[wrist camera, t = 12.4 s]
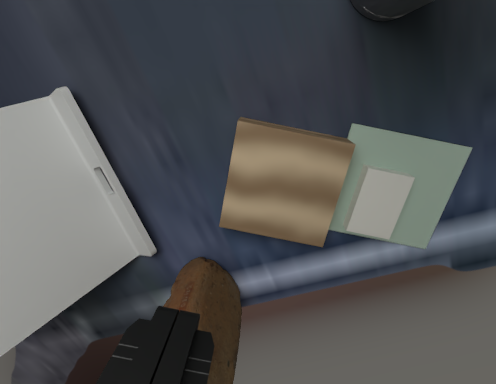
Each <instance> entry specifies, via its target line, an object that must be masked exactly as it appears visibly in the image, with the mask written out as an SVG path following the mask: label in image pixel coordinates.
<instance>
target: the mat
mask: <svg viewBox="0 0 496 384" xmlns="http://www.w3.org/2000/svg"><path fill="white" fill-rule="evenodd" d="M347 139H348V140H350V141H351V142H353V143H354V144H356V146H355V149H354V152H353V155H352V158H351V161H350V164H349V167H348V170H347V173H346V177H345V180H344V183H343V186H342V189H341V192H340V195H339V198H338V201H337V204H336V208H335V211H334V214H333V217H332V220H331V223H330V226H329V229H328V230H333V231H338V232H343V233H348V234H353V235H358V236H363V237H368V238H373V239H378V240H383V241H388V242H393V243H398V244H403V245H408V246H413V247H418V248H423V249H426V247H427V245H428V243H429V240H430V238H431V236H432V234H433V232H434V230H435V227H436V225H437V223H438V221H439V219H440V217H441V215H442V212H443V210H444V208H445V206H446V204H447V202H448V200H449V197H450V195H451V193H452V191H453V189H454V187H455V184H456V182H457V180H458V178H459V176H460V174H461V172H462V169H463V167H464V165H465V163H466V161H467V159H468V157H469V154H470V152H471V150H472V148H471V147H466V146H461V145H457V144H452V143H447V142H442V141H437V140H432V139H427V138H422V137H417V136H412V135H408V134H403V133H398V132H393V131H388V130H383V129H378V128H373V127H368V126H364V125H359V124H354V123H352V125H351V128H350V131H349V134H348V137H347ZM363 164H366V165H371V166H376V167H380V168H385V169H390V170H395V171H399V172H404V173H408V174H410V175H411V176H413V177H415V179H414V182H413V184H412V187H411V189H410V191H409V194H408V196H407V198H406V201H405V203H404V206H403V208H402V210H401V213H400V215H399V218H398V220H397V222H396V225H395V227H394V230H393V232H392V234H391V237H390V239H389V240H388V239H383V238H379V237H374V236H369V235H364V234H359V233H354V232H350V231H346V229H345V228H344V226H343V222H344V219H345V216H346V213H347V210H348V208H349V205H350V202H351V199H352V196H353V193H354V190H355V187H356V185H357V182H358V179H359V176H360V173H361V170H362V167H363Z"/></svg>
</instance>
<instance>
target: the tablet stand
mask: <svg viewBox="0 0 496 384" xmlns="http://www.w3.org/2000/svg"><path fill="white" fill-rule="evenodd" d="M100 168H101V169H102V171H103V173H104V175H105V176H106V178H107V180H108V182H109V183H110V185H111V187H112V189H113V191H114V192H113V191H112V189H111V187H110V186H109V184H108V182H107V180H106V178H105V177H104V175H103V173H102V171H101V170H100ZM156 252H157V250H156V248H155V246H154V244H153V242H152V241H151V239H150V237H149V235H148V233H147V231H146V230H145V228H144V226H143V224H142V222H141V220H140V219H139V217H138V215H137V213H136V211H135V209H134V208H133V206H132V204H131V202H130V200H129V198H128V197H127V195H126V193H125V191H124V189H123V187H122V186H121V184H120V182H119V180H118V178H117V176H116V175H115V173H114V171H113V169H112V167H111V165H110V164H109V162H108V160H107V158H106V156H105V154H104V153H103V151H102V149H101V147H100V145H99V143H98V142H97V140H96V138H95V136H94V134H93V132H92V131H91V129H90V127H89V125H88V123H87V121H86V120H85V118H84V116H83V114H82V112H81V110H80V109H79V107H78V105H77V103H76V101H75V99H74V98H73V96H72V94H71V92H70V90H69V89H68V88H67V87H60V88H57V89H56V90H55V91H54V92H53V93H52V94H51V95H50V96H48V97H44V98H40V99H36V100H31V101H27V102H23V103H19V104H15V105H11V106H7V107H3V108H0V356H2V355H3V354H4V353H6V352H7V351H9V350H10V349H11V348H12V347H14V346H15V345H17V344H18V343H20V342H21V341H22V340H24V339H25V338H26V337H28V336H29V335H30V334H32V333H33V332H35V331H36V330H37V329H39V328H40V327H41V326H43V325H44V324H45V323H47V322H48V321H50V320H51V319H52V318H54V317H55V316H56V315H58V314H59V313H61V312H62V311H63V310H65V309H66V308H67V307H69V306H70V305H71V304H73V303H74V302H76V301H77V300H78V299H80V298H81V297H82V296H84V295H85V294H86V293H88V292H89V291H91V290H92V289H93V288H95V287H96V286H97V285H99V284H100V283H101V282H103V281H104V280H106V279H107V278H108V277H110V276H111V275H112V274H114V273H115V272H117V271H118V270H119V269H121V268H122V267H123V266H125V265H126V264H127V263H129V262H130V261H132V260H133V259H134V258H136V257H137V256H139V255H144V256H150V257H151V256H152V255H154V254H155V253H156Z"/></svg>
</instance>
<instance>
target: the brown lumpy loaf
mask: <svg viewBox="0 0 496 384" xmlns="http://www.w3.org/2000/svg"><path fill="white" fill-rule="evenodd" d="M163 307H168V308H173V309H178V310H179V312H180V310H183V311H188V312H194V313H199V314H200V320H199V326H198V330H201V331H206V332H211V334H212V338H213V342H214V351H213V356H212V361H211V366H210V371H209V376H208V381H207V384H233V380H234V375H235V368H236V361H237V353H238V346H239V338H240V327H241V315H242V309H241V304H240V292H239V289H238V287H237V285H236V283H235V281H234V280H233V278H232V277H231V275H230V274H229V273H228V272H227V271H225V270H223V269H222V267H221V266H220V265H218V264H217V263H216V262H215V261H213V260H209V259H205V258H204V257H198V258H196V259H193V260H191V261H190V262H189V263H188V264H186V265H185V266H184V267H183V268H182V269H181V271H180V272H179V274H178V276H177V278H176V281H175V283H174V284H173V286H172V289H171V297H170V298H169V299H168V300H167V301H166V303H165V304H164V306H163Z"/></svg>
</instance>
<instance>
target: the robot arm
mask: <svg viewBox="0 0 496 384" xmlns="http://www.w3.org/2000/svg"><path fill="white" fill-rule="evenodd" d="M433 1H435V0H351V2H352V4H353V6H354V7H355V8H356V9H357V10H358V12H359V13H361V14H362V15H364V16H365V17H367V18H369V19H372V20H375V21H389V20H394V19H396V18H399V17H402V16H404V15H406V14H408V13H410V12H412V11H414V10H416V9H418V8H420V7H422V6H425V5H427V4H429V3H431V2H433ZM199 320H200V314H199V313H194V312H188V311H183V310H180V312H179V310H178V309H173V308H168V307H162V306H158V308H157V310H156V312H155V314H154V316H153V318H152V320H151V321H149V320H144V319H138V320H137V321H136V322H135V323H134V324H132V325H131V326H130V327H129V328H128V329H127V330H126V332H125V333H124V335H123V337H122V339H121V340H120V342H119V345H118V346H117V347H116V349H115V351H114V353H113V355H112V357H111V358H110V360H109V362H108V363H107V365H106V367H105V369H104V370H103V372H102V374H101V376H100V378H99V380H98V381H97V383H96V384H207V381H208V376H209V371H210V366H211V361H212V356H213V351H214V342H213V338H212V334H211V332H206V331H201V330H198V326H199Z"/></svg>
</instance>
